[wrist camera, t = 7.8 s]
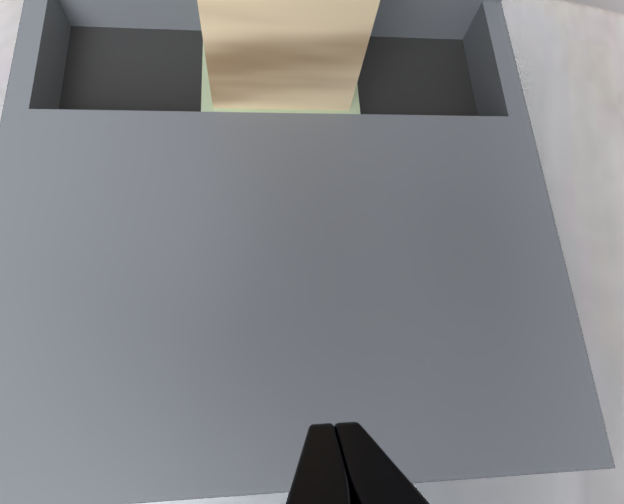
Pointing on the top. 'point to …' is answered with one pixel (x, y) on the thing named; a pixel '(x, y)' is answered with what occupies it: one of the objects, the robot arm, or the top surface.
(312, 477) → the robot arm
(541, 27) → the top surface
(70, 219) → the board
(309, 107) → the maple block
